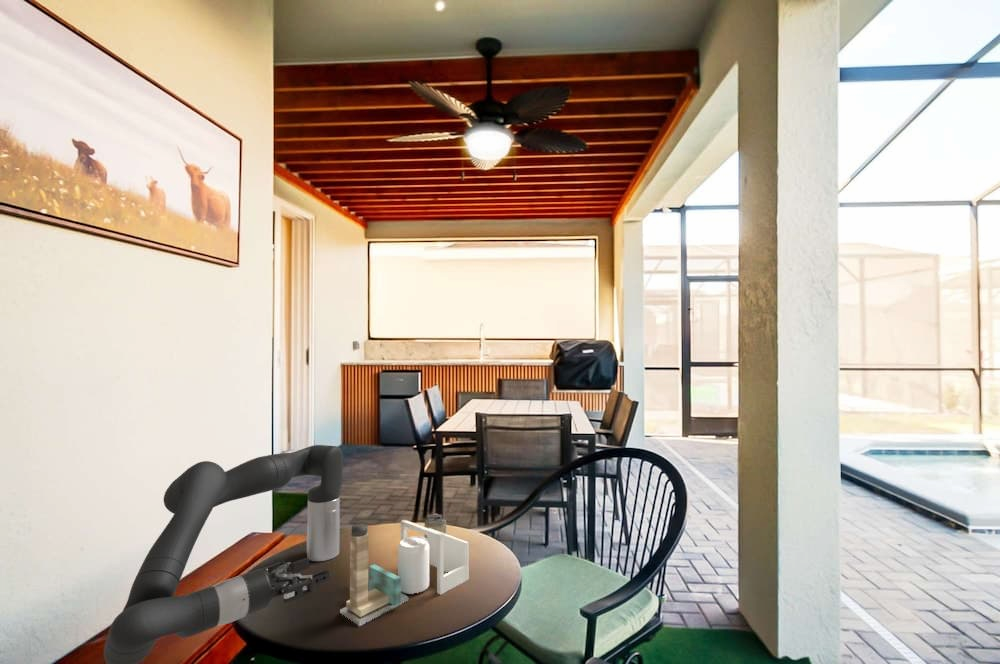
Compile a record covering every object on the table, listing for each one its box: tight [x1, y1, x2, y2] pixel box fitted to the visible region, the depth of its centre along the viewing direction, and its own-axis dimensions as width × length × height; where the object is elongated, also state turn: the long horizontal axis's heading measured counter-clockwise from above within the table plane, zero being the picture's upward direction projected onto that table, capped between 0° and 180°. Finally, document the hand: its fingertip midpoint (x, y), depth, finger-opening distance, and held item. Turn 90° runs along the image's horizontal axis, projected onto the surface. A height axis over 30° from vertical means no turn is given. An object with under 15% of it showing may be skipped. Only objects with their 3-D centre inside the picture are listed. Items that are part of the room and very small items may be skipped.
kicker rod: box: [345, 523, 402, 617], centre depth 113 cm, size 11×10×19 cm
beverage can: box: [397, 536, 430, 595], centre depth 123 cm, size 8×8×12 cm
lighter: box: [423, 513, 447, 539], centre depth 148 cm, size 7×4×10 cm, turn 91°
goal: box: [400, 519, 470, 596], centre depth 128 cm, size 16×10×15 cm, turn 50°
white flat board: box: [339, 592, 409, 627], centre depth 113 cm, size 8×14×1 cm, turn 140°
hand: (318, 568), depth 103 cm, fingers open, 8 cm apart
